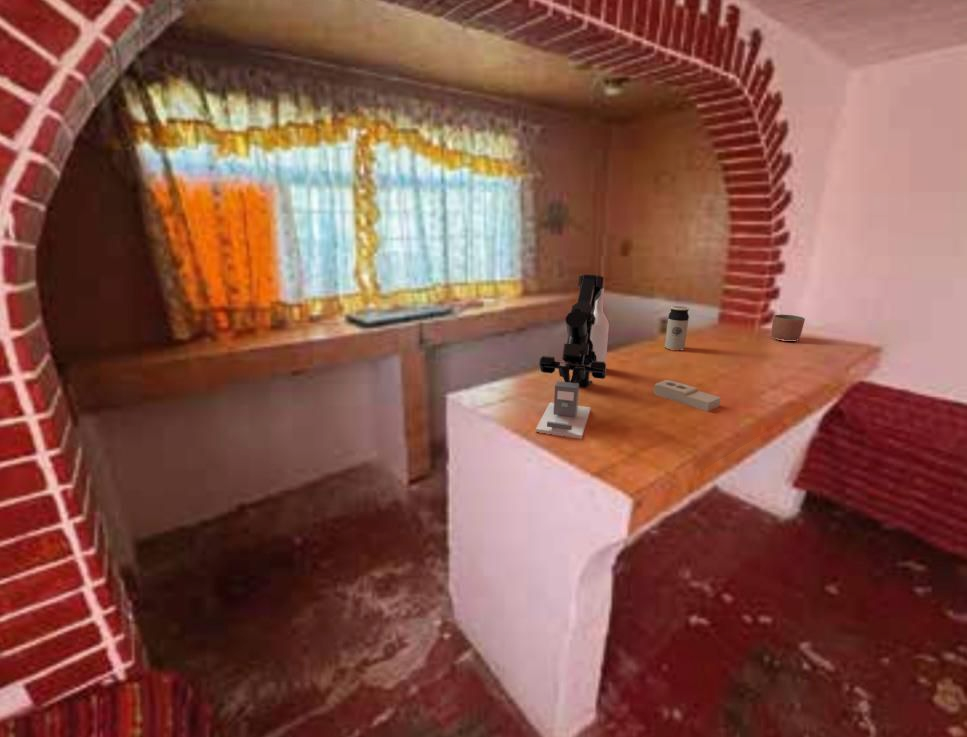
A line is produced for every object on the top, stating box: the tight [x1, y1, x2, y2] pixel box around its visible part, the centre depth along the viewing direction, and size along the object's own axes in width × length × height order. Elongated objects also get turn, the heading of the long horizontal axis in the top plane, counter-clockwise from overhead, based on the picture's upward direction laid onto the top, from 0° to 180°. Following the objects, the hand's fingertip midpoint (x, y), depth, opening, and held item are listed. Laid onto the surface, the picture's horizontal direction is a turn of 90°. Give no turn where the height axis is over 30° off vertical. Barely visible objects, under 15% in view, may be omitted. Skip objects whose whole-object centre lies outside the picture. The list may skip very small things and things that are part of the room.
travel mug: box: [664, 305, 690, 351], centre depth 207 cm, size 8×8×18 cm
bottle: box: [590, 288, 610, 363], centre depth 176 cm, size 8×8×30 cm
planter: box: [771, 314, 806, 341], centre depth 224 cm, size 12×12×11 cm
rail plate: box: [535, 402, 591, 440], centre depth 135 cm, size 20×12×3 cm, turn 162°
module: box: [553, 380, 580, 417], centre depth 134 cm, size 5×6×8 cm
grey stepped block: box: [653, 379, 721, 412], centre depth 151 cm, size 7×4×18 cm
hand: (568, 393), depth 137 cm, fingers closed
